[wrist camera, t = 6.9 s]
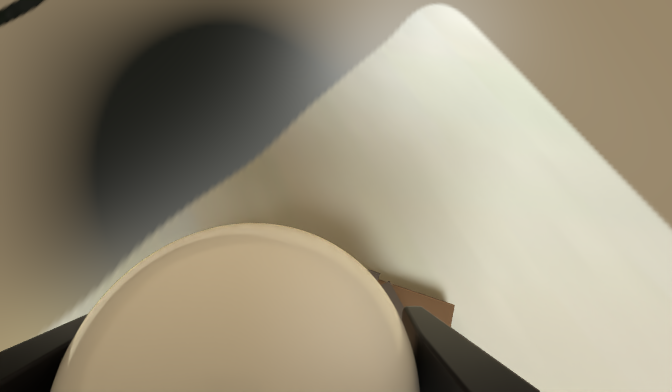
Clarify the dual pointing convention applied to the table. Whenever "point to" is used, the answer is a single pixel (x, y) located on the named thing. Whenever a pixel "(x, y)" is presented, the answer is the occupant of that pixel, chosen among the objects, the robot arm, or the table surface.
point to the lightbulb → (242, 321)
